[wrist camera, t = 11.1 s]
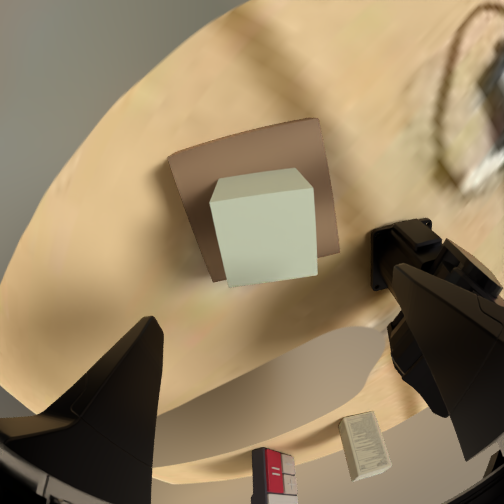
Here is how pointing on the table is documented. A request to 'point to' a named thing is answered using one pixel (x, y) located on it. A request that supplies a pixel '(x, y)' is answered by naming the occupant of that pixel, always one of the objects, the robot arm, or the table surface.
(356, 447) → the skincare box
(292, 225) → the sage cube
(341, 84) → the table surface
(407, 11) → the table surface
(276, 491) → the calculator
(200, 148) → the walnut block
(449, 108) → the table surface
